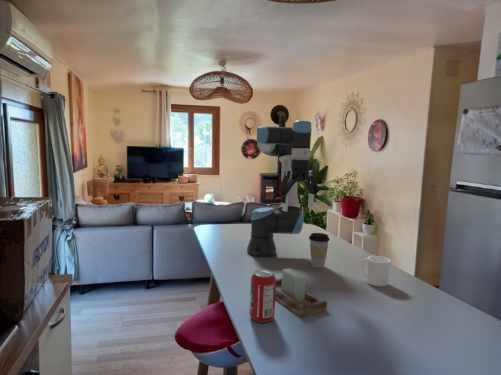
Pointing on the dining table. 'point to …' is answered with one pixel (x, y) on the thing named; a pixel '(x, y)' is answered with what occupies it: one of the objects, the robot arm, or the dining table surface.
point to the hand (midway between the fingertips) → (297, 210)
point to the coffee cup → (318, 249)
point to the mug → (377, 270)
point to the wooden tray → (299, 308)
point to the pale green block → (293, 284)
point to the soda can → (262, 295)
